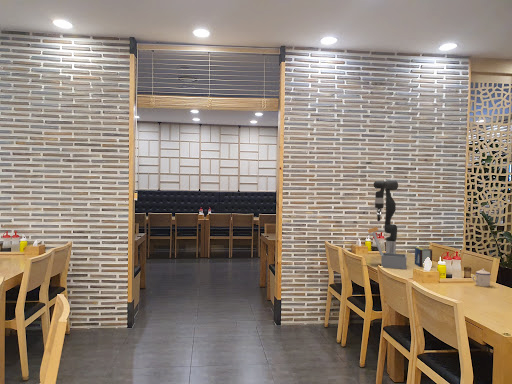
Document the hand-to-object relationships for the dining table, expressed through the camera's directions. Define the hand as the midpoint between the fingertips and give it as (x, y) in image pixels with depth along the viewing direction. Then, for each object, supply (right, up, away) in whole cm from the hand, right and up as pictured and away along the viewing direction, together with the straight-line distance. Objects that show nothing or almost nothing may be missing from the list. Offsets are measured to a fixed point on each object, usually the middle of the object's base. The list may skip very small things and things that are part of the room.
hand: (378, 220), depth 362 cm
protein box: (+37, -39, -8) cm, 54 cm away
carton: (+8, -38, -16) cm, 42 cm away
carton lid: (-1, -16, -12) cm, 20 cm away
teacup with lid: (+48, -40, -79) cm, 101 cm away
